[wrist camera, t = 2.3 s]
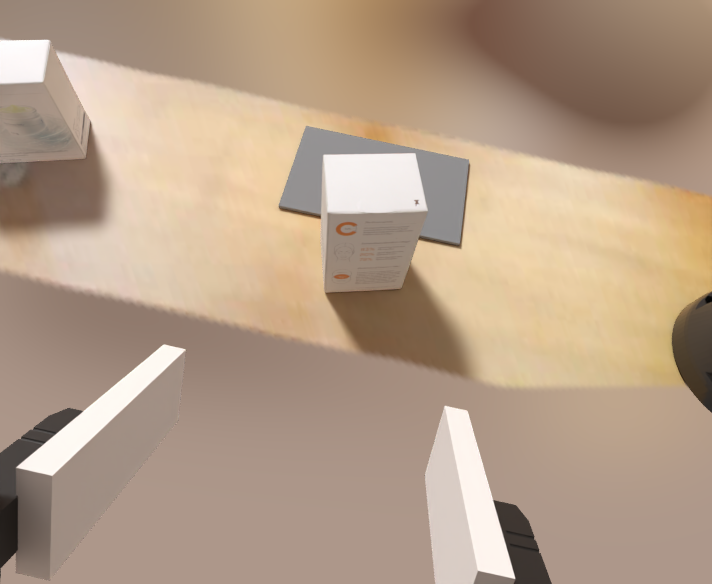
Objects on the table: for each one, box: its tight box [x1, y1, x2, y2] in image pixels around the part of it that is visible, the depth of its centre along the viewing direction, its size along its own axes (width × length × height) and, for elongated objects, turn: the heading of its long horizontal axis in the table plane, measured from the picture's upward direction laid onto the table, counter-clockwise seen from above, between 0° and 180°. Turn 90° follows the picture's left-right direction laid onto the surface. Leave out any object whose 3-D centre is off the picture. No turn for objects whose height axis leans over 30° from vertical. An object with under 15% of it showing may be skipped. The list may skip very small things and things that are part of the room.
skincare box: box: [0, 40, 90, 163], centre depth 50 cm, size 10×6×10 cm, turn 100°
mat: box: [279, 126, 469, 246], centre depth 56 cm, size 20×12×1 cm, turn 79°
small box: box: [321, 153, 428, 293], centre depth 45 cm, size 8×6×13 cm
